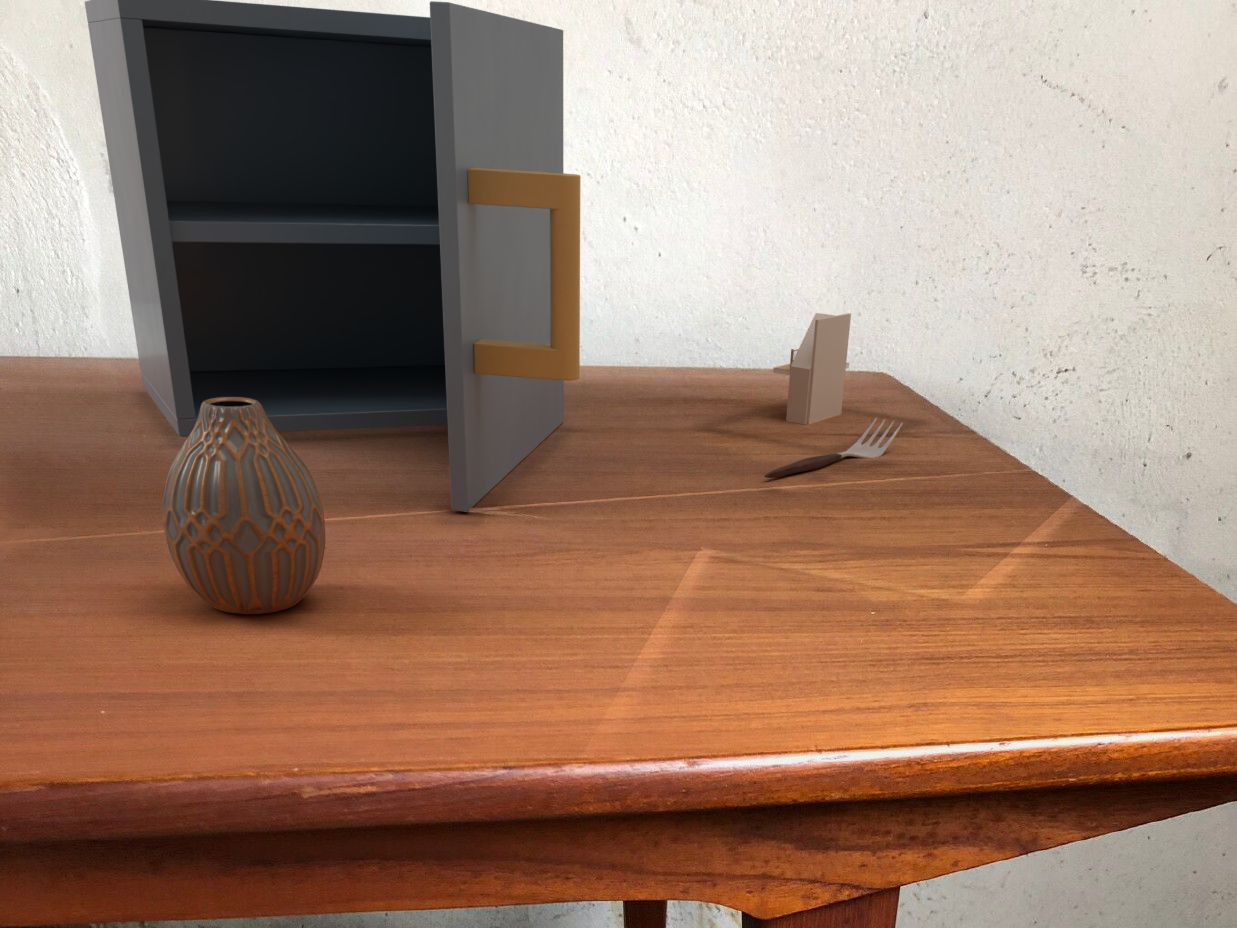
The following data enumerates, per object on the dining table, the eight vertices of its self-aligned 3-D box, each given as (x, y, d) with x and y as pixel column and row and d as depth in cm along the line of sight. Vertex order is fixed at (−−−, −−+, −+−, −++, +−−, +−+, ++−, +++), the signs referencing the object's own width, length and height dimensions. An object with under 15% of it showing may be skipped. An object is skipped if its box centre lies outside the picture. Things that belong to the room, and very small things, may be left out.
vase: (295, 632, 60) (273, 423, 55) (147, 617, 61) (113, 409, 56) (353, 586, 66) (338, 394, 61) (218, 572, 67) (192, 382, 62)
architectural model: (768, 419, 106) (776, 314, 102) (810, 407, 111) (818, 307, 107) (807, 425, 104) (816, 320, 100) (847, 413, 109) (858, 312, 105)
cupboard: (553, 421, 101) (551, 26, 88) (179, 438, 90) (116, -8, 78) (476, 377, 115) (464, 30, 102) (143, 387, 104) (84, 1, 91)
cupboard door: (641, 428, 100) (652, 34, 87) (568, 520, 77) (568, 8, 65) (550, 421, 100) (548, 28, 88) (451, 510, 78) (429, 1, 65)
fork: (747, 481, 88) (750, 449, 87) (870, 445, 99) (874, 416, 98) (781, 488, 87) (784, 456, 86) (902, 451, 98) (905, 422, 97)
